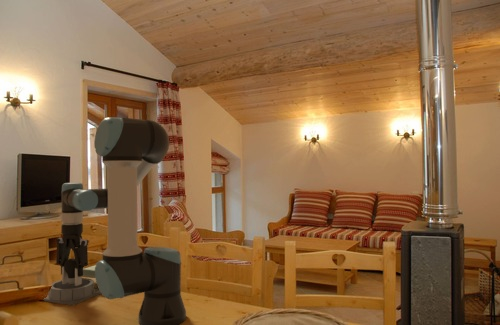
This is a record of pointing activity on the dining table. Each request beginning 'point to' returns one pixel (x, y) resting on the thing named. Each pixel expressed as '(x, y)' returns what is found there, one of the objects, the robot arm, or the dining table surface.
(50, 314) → the dining table surface
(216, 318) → the dining table surface
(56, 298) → the holder
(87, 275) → the pale green square board
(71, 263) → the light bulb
